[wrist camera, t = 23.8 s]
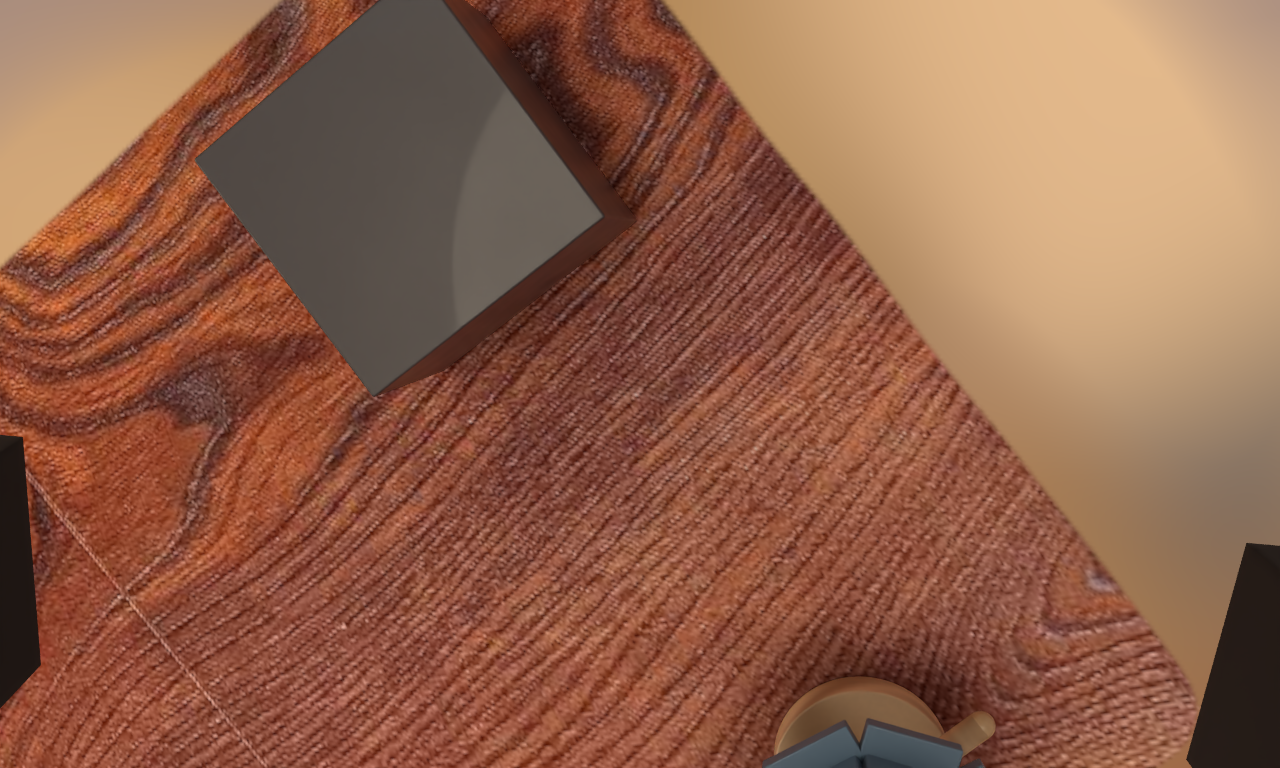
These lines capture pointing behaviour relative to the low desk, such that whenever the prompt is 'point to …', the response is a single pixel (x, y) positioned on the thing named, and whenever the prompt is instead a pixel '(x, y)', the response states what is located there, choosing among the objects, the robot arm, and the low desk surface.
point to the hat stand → (873, 713)
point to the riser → (414, 188)
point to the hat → (871, 749)
